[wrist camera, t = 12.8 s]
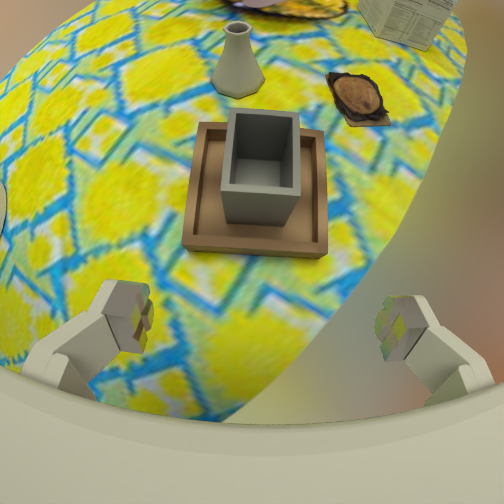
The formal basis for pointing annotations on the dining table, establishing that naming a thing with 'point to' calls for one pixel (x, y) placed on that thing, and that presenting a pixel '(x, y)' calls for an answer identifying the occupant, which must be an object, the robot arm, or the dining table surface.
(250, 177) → the small crate
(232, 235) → the tray
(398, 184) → the dining table surface
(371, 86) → the bread roll
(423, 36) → the supplement box
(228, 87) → the flask
